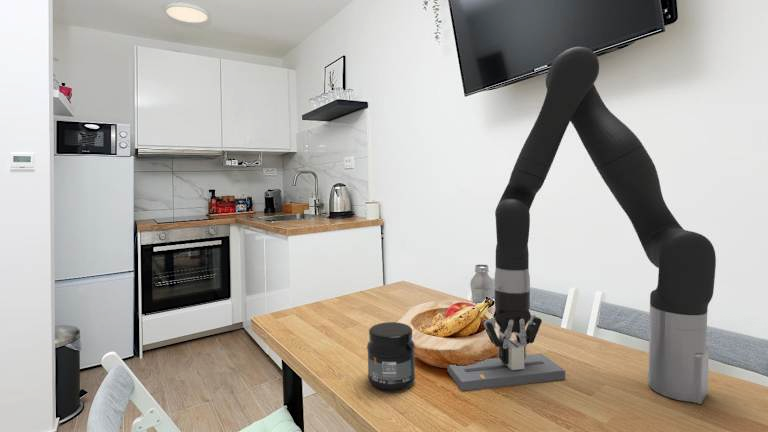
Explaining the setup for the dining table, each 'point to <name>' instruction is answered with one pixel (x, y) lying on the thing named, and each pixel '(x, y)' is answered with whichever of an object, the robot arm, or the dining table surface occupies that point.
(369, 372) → the supplement container
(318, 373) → the dining table surface
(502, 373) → the slider board
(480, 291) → the plastic bottle
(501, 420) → the dining table surface
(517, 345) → the block
